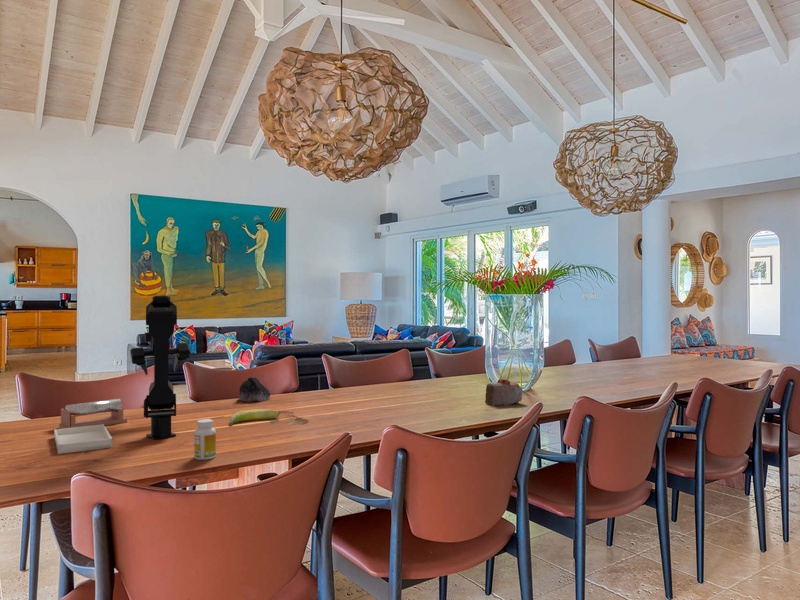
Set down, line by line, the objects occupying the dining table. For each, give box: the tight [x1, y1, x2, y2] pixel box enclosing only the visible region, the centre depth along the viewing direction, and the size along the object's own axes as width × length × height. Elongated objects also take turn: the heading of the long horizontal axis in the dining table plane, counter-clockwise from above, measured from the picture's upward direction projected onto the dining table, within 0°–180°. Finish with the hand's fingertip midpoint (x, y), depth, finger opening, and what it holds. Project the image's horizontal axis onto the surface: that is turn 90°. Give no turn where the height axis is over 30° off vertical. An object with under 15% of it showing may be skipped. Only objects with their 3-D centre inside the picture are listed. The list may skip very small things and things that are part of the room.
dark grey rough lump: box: [238, 376, 271, 402], centre depth 240 cm, size 13×14×10 cm
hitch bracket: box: [58, 407, 128, 429], centre depth 192 cm, size 18×7×6 cm, turn 137°
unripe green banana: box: [210, 408, 309, 432], centre depth 200 cm, size 35×27×4 cm
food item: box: [484, 379, 523, 407], centre depth 234 cm, size 14×8×10 cm, turn 116°
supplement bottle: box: [193, 418, 217, 461], centre depth 156 cm, size 5×5×10 cm
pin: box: [64, 398, 123, 418], centre depth 192 cm, size 16×4×4 cm, turn 137°
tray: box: [53, 424, 114, 455], centre depth 170 cm, size 21×13×2 cm, turn 33°
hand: (160, 372), depth 207 cm, fingers open, 9 cm apart
